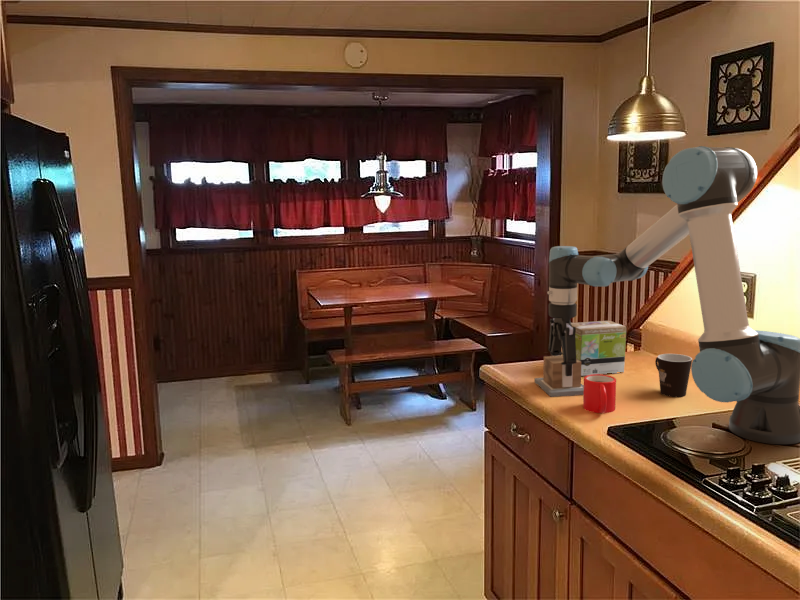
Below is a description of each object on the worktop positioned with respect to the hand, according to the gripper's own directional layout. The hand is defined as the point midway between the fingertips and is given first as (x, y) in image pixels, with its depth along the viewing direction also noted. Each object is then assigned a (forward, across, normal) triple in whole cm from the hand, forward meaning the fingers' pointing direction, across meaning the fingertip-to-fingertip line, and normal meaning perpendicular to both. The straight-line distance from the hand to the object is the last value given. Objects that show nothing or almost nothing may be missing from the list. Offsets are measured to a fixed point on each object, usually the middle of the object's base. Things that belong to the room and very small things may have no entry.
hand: (561, 382), depth 186 cm
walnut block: (0, 0, 0) cm, 0 cm away
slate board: (+2, 0, 0) cm, 2 cm away
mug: (+2, +20, +3) cm, 20 cm away
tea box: (+2, -15, +16) cm, 22 cm away
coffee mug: (+2, +9, +28) cm, 29 cm away
